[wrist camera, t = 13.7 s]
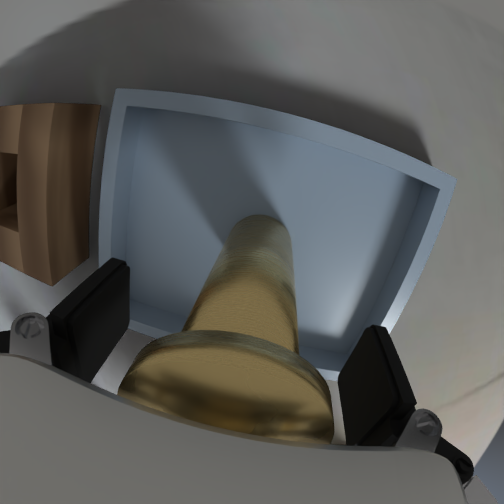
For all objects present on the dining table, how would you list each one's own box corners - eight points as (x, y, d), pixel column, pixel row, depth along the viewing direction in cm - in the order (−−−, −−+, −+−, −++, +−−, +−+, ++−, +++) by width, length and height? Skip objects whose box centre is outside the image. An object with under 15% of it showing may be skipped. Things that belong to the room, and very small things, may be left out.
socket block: (101, 104, 16) (54, 102, 11) (89, 257, 21) (52, 286, 16) (9, 106, 16) (-31, 110, 11) (6, 226, 21) (-28, 245, 16)
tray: (434, 171, 16) (457, 179, 13) (351, 357, 22) (357, 383, 19) (139, 93, 16) (115, 88, 13) (119, 298, 22) (101, 318, 19)
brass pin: (316, 215, 17) (377, 389, 5) (289, 293, 19) (290, 483, 7) (225, 191, 17) (106, 325, 5) (208, 272, 19) (127, 445, 7)
